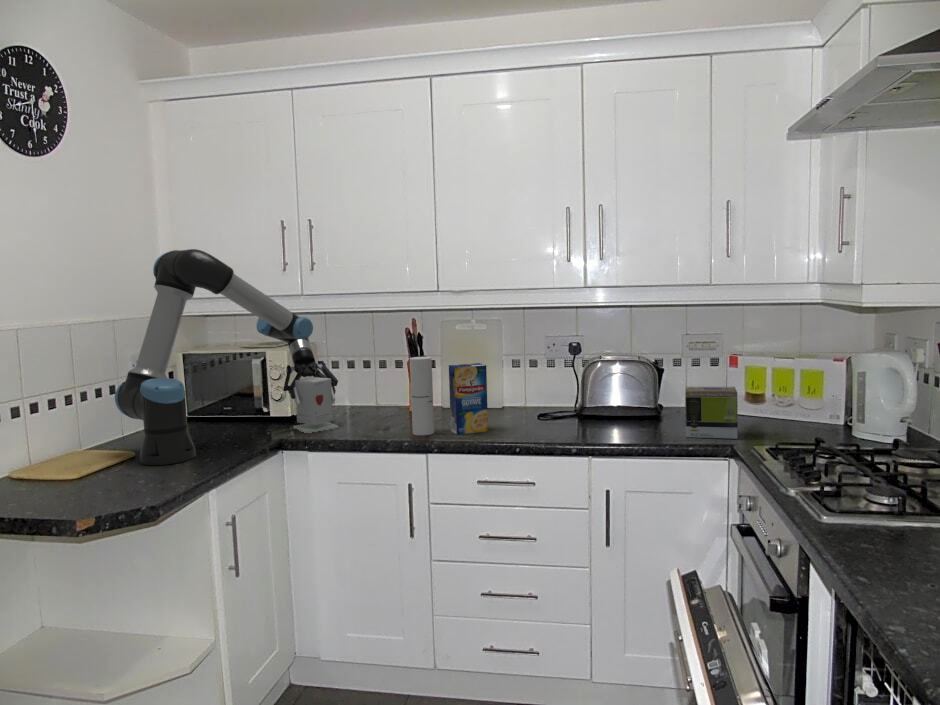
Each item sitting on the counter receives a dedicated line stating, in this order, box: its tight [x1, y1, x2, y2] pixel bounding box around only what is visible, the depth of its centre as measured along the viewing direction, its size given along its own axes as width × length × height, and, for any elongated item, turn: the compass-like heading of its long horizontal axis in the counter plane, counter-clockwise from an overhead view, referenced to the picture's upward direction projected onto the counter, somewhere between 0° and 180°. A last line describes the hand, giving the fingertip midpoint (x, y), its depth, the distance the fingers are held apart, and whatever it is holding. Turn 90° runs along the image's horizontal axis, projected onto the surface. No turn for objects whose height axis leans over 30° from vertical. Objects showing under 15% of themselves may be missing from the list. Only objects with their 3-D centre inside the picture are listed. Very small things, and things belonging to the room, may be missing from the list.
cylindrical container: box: [409, 356, 435, 436], centre depth 224 cm, size 7×7×25 cm
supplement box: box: [295, 376, 334, 425], centre depth 236 cm, size 9×9×15 cm
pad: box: [292, 421, 339, 434], centre depth 237 cm, size 12×11×1 cm
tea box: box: [684, 386, 739, 440], centre depth 210 cm, size 15×10×15 cm, turn 72°
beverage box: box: [448, 362, 489, 436], centre depth 225 cm, size 7×11×22 cm, turn 109°
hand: (316, 403), depth 234 cm, fingers closed on supplement box, 12 cm apart
